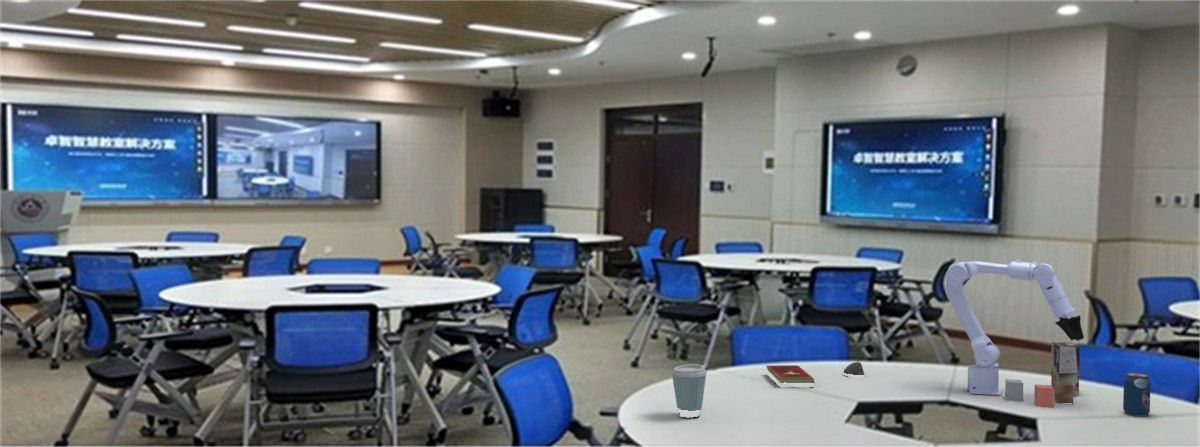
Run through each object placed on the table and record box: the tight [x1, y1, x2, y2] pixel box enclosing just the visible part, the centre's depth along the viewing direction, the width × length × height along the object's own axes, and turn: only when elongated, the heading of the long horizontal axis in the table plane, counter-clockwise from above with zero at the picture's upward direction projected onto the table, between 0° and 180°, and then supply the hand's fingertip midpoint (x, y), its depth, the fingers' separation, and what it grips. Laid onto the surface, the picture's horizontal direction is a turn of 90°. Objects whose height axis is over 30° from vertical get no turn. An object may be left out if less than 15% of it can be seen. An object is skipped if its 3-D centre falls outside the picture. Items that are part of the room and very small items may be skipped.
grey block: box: [1004, 378, 1024, 402], centre depth 292 cm, size 4×4×6 cm
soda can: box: [1122, 371, 1151, 417], centre depth 273 cm, size 7×7×12 cm
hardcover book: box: [765, 364, 815, 384], centre depth 319 cm, size 12×21×4 cm, turn 2°
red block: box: [1033, 384, 1054, 408], centre depth 284 cm, size 4×4×6 cm
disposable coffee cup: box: [670, 363, 708, 411], centre depth 273 cm, size 11×11×15 cm
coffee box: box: [1050, 341, 1081, 397], centre depth 301 cm, size 9×6×16 cm
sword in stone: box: [843, 345, 866, 376], centre depth 328 cm, size 10×8×12 cm
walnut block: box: [1053, 381, 1074, 405], centre depth 288 cm, size 4×4×6 cm
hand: (1077, 339), depth 286 cm, fingers open, 7 cm apart
